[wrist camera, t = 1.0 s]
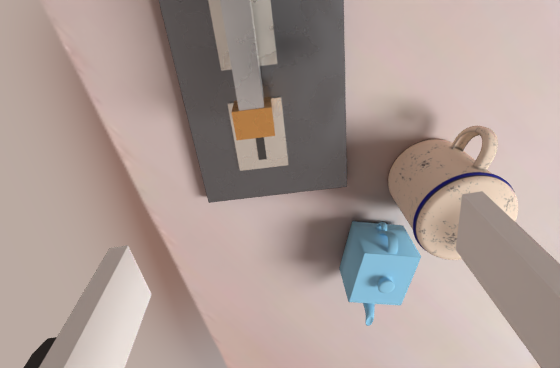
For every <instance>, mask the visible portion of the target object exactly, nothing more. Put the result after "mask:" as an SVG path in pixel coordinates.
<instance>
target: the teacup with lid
mask: <svg viewBox="0 0 560 368" xmlns="http://www.w3.org/2000/svg"><path fill="white" fill-rule="evenodd" d="M478 135H480V136H481V137H482V148H481V151H480V154H479V156H478V157H477V159H476V161H475V160H474V159H473V158H472V157H471V156H469V155H468V154H467V153H466V152H464V151H463V150H464V148H465V147H466V145H467V144H468V142H469V141H470V140H471V139H472V138H473V137H475V136H478ZM497 145H498V141H497V136H496V134H495V133H494V132H493V131H492V130H491V129H489V128H486V127H482V126H472V127H469V128H466V129H465V130H463V131H462V132H461V133H460V134H459V135H458V136H457V137H456V139H455V140H454V142H453V143H451V142H449V141H446V140H439V139H433V140H426V141H422V142H419V143H417V144H415V145H413V146H411V147H409V148H408V149H406V150H405V151H404V152H403V153H402V154H401V155H400V156H399V157H398V158H397V159H396V160H395V162H394V163H393V165H392V167H391V170H390V173H389V177H388V187H389V191H390V193H391V195H392V197H393V199H394V200H395V202H396V203H397V205H398V207H399V208H400V210H401V211H402V213H403V215H404V216H405V218H406V219H407V221H408V223H409V224H410V226H411V227H412V229H413V233H414V236H415V238H416V240H417V242H418V244H419V245H420V246H421V247H422V248H423V249H424V250H426V251H427V252H429V253H430V254H432V255H434V256H436V257H439V258H443V259H449V260H460V259H462V258H461V256H460V255H459V254H458V252H457V251H456V242H457V234H458V225H459V216H460V208H461V199H462V194H468V193H474V192H481V191H483V192H484V193H485V194H486V195H487V196H488V197H489V198H490V199H491V200H492V201H493V202H494V203H496V204H497V205H498V206H499V207H500V208H501V209H502V210H503V211H504V212H505V213H506V214H507V215H508V216H509V217H510V218H511V219H512V220H514V221H516V218H517V214H518V201H517V197H516V195H515V192H514V190H513V188H512V187H511V186H510V184H509V183H508V182H507V181H505V180H504V179H502V178H501V177H499V176H497V175H494V174H492V173H490V172H489V171H488V170H487V169H488V167H489V166H490V164H491V162H492V161H493V159H494V157H495V154H496V151H497Z"/></svg>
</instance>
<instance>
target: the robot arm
mask: <svg viewBox="0 0 560 368" xmlns="http://www.w3.org/2000/svg"><path fill="white" fill-rule="evenodd" d="M456 251H457V252H458V254H459V255H460V256H461V258H462V259H463V261H464V262H465V263H466V265H467V266H468V268H469V269H470V270H471V272H472V273H473V274H474V276H475V277H476V279H477V280H478V281H479V283H480V284H481V286H482V287H483V288H484V290H485V291H486V292H487V294H488V295H489V297H490V298H491V299H492V301H493V302H494V303H495V305H496V306H497V308H498V309H499V310H500V312H501V313H502V315H503V316H504V317H505V319H506V320H507V321H508V323H509V324H510V326H511V327H512V328H513V330H514V331H515V332H516V334H517V335H518V337H519V338H520V339H521V341H522V342H523V344H524V345H525V346H526V348H527V349H528V350H529V352H530V353H531V355H532V356H533V357H534V359H535V360H536V361H537V363H538V364H539V366H540V367H541V368H560V264H559V263H558V262H557V261H556V260H555V259H554V258H553V257H552V256H551V255H550V254H549V253H547V252H546V251H545V250H544V249H543V248H542V247H541V246H540V245H539V244H538V243H537V242H536V241H535V240H534V239H533V238H532V237H531V236H529V235H528V234H527V233H526V232H525V231H524V230H523V229H522V228H521V227H520V226H519V225H518V224H517V223H516V222H515V221H514V220H512V219H511V218H510V217H509V216H508V215H507V214H506V213H505V212H504V211H503V210H502V209H501V208H500V207H499V206H498V205H497V204H496V203H494V202H493V201H492V200H491V199H490V198H489V197H488V196H487V195H486V194H485V193H484V192H483V191H481V192H474V193H468V194H462V199H461V208H460V216H459V225H458V234H457V242H456ZM150 297H151V292H150V290H149V288H148V286H147V284H146V282H145V280H144V278H143V276H142V273H141V271H140V269H139V267H138V265H137V263H136V261H135V259H134V257H133V255H132V253H131V251H130V249H129V246H122V247H115V248H110V249H109V250H108V252H107V253H106V255H105V257H104V258H103V260H102V262H101V263H100V265H99V267H98V269H97V270H96V272H95V274H94V275H93V277H92V279H91V281H90V282H89V284H88V286H87V287H86V289H85V291H84V292H83V294H82V296H81V297H80V299H79V301H78V302H77V304H76V306H75V307H74V309H73V311H72V313H71V314H70V316H69V318H68V319H67V321H66V323H65V324H64V326H63V328H62V330H61V331H60V333H59V335H58V336H57V337H55V338H49V339H47V340H46V341H45V342H44V343H43V344H42V345H41V346H40V347H39V348H38V349H37V350H36V351H35V352H34V353H33V354H32V355H31V357H30V359H29V360H28V362H27V363H26V365H25V366H24V368H125V365H126V363H127V360H128V357H129V354H130V352H131V349H132V346H133V343H134V341H135V338H136V335H137V332H138V330H139V327H140V324H141V322H142V319H143V316H144V313H145V311H146V308H147V305H148V302H149V300H150Z"/></svg>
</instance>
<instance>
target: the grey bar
mask: <svg viewBox="0 0 560 368" xmlns="http://www.w3.org/2000/svg"><path fill="white" fill-rule="evenodd" d="M220 3H221V9H222V15H223V21H224V27H225V32H226V38H227V44H228V50H229V56H230V62H231V67H232V73H233V79H234V85H235V91H236V96H237V101H234V104H233V108H232V112H231V113H232V118H233V124H234V129H235V135H236V140H245V139H253V138H261V137H270V136H275V127H274V118H273V110H272V101H271V97H264V94H263V86H262V79H261V71H260V64H259V56H258V49H257V41H256V34H255V26H254V19H253V11H252V4H251V0H220Z"/></svg>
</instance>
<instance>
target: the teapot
mask: <svg viewBox="0 0 560 368" xmlns="http://www.w3.org/2000/svg"><path fill="white" fill-rule="evenodd" d="M420 258H421V256H420V254H419V252H418V250H417V249H416V247H415V245H414V244H413V242H412V240H411V239H410V237H409V235H408V233H407V232H406V230H405V228H404V227H403V226H401V225H390V224H386V223H384V222H379V223H366V222H355V221H352V225H351V228H350V232H349V235H348V239H347V242H346V246H345V250H344V253H343V257H342V260H341V264H340V272H341V276H342V279H343V283H344V287H345V291H346V294H347V298H348V302H358V303H363V305H364V308H365V312H366V325H367V326H369V325H371V324H372V322H373V319H374V305H375V304H389V305H401V304H402V301H403V299H404V297H405V294H406V292H407V290H408V287H409V285H410V283H411V280H412V278H413V275H414V273H415V271H416V268H417V266H418V263H419V261H420Z"/></svg>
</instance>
